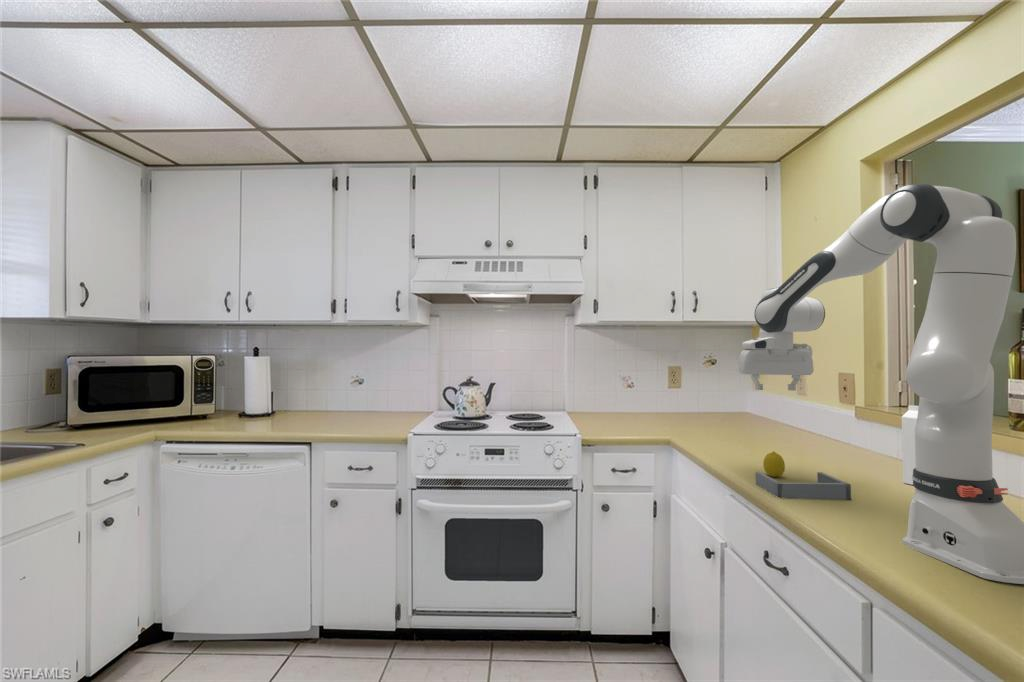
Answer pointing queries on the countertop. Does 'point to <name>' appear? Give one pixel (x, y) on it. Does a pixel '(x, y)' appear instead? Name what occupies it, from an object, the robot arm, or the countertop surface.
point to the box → (807, 488)
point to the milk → (909, 443)
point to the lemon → (774, 464)
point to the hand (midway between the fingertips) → (775, 390)
